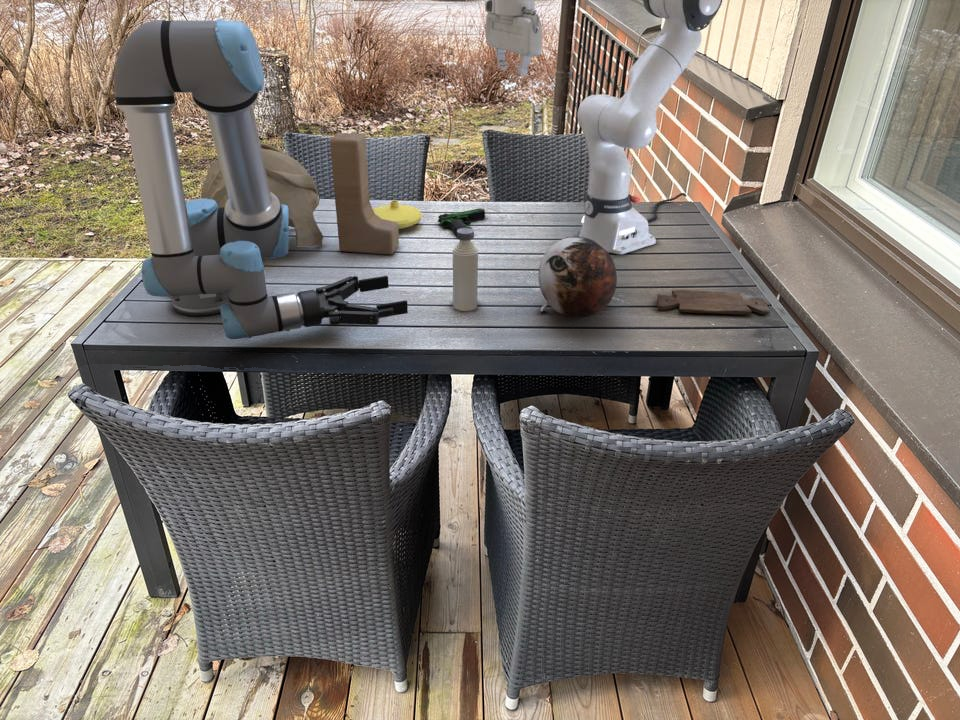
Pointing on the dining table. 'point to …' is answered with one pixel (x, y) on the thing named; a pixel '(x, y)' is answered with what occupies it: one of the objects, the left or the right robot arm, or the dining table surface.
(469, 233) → the cap
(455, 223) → the handgun
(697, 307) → the dark wooden board
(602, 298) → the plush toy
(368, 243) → the decorative block
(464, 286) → the bottle
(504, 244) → the dining table surface
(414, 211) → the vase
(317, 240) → the helmet
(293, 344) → the dining table surface
